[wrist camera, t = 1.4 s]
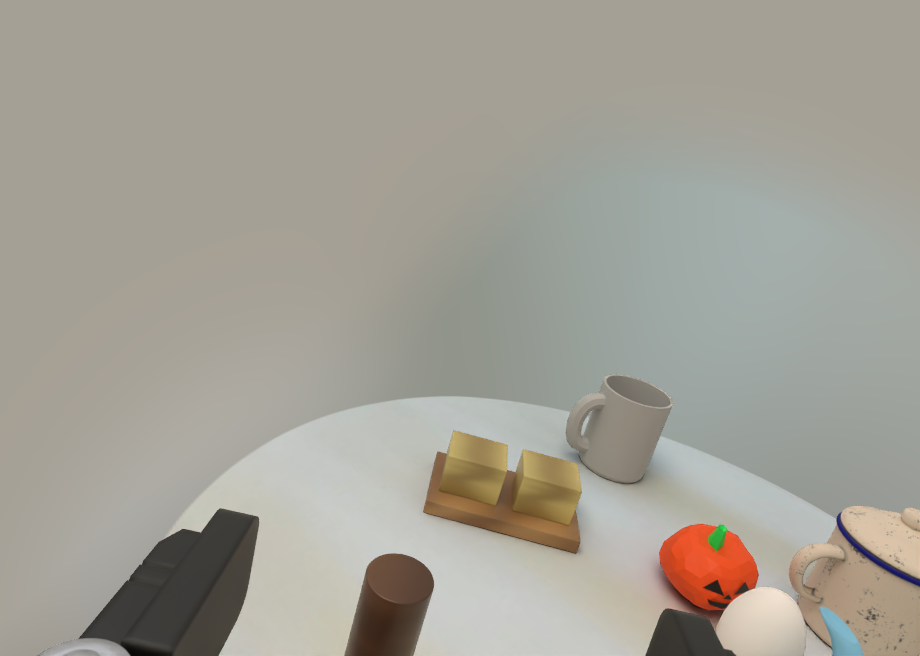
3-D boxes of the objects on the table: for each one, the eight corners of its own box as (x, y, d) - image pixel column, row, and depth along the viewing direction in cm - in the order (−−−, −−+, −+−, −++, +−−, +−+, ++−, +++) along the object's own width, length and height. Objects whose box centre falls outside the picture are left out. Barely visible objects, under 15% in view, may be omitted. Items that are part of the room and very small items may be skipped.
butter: (423, 512, 53) (436, 464, 51) (434, 462, 61) (446, 418, 59) (576, 553, 53) (594, 506, 52) (568, 498, 61) (584, 455, 59)
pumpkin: (757, 604, 53) (790, 541, 51) (713, 641, 48) (748, 572, 45) (682, 548, 58) (709, 488, 56) (633, 576, 52) (661, 511, 50)
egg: (686, 645, 46) (726, 564, 44) (746, 645, 48) (787, 567, 46) (731, 713, 42) (778, 626, 39) (795, 710, 43) (844, 627, 41)
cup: (654, 488, 67) (686, 413, 64) (566, 478, 64) (595, 399, 61) (625, 449, 73) (652, 379, 70) (544, 439, 70) (569, 366, 67)
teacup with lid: (867, 599, 58) (931, 491, 54) (940, 688, 49) (1023, 567, 45) (742, 574, 56) (799, 461, 52) (795, 661, 48) (867, 534, 44)
